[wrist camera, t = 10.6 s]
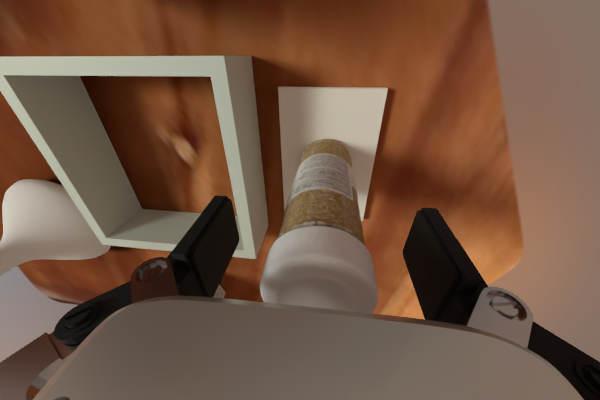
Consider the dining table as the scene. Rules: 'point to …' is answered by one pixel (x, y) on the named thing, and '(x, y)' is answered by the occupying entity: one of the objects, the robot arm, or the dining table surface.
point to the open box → (103, 159)
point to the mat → (331, 128)
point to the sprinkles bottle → (321, 238)
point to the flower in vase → (44, 226)
